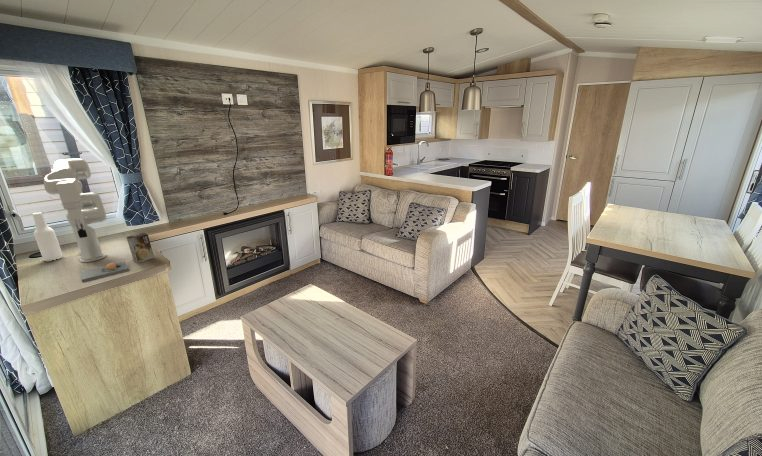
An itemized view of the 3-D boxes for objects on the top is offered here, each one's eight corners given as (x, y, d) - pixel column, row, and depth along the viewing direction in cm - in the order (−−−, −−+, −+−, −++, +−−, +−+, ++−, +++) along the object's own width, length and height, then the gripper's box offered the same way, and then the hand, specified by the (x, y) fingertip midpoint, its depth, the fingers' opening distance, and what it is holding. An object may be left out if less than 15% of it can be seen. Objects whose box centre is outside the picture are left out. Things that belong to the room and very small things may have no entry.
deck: (82, 282, 167) (81, 279, 167) (81, 273, 177) (80, 271, 177) (129, 270, 180) (128, 268, 180) (126, 263, 190) (125, 260, 190)
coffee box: (149, 256, 201) (143, 232, 195) (154, 258, 197) (148, 233, 192) (133, 261, 193) (126, 236, 188) (137, 263, 190) (130, 238, 185)
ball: (118, 265, 181) (114, 272, 180) (117, 263, 184) (112, 270, 183) (110, 262, 178) (104, 269, 177) (108, 260, 181) (103, 267, 179)
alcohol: (67, 256, 202) (51, 211, 192) (51, 262, 193) (34, 215, 184) (55, 255, 203) (39, 210, 193) (39, 261, 195) (21, 214, 185)
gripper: (63, 203, 169) (74, 234, 175) (62, 209, 159) (74, 242, 165) (82, 200, 174) (92, 231, 180) (82, 206, 163) (93, 239, 170)
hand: (83, 236), depth 173 cm, fingers closed
